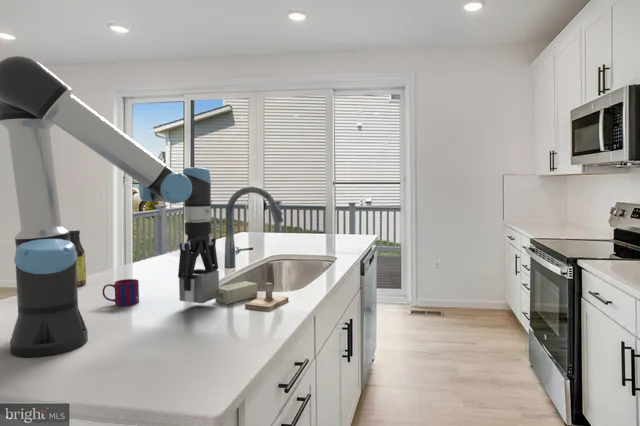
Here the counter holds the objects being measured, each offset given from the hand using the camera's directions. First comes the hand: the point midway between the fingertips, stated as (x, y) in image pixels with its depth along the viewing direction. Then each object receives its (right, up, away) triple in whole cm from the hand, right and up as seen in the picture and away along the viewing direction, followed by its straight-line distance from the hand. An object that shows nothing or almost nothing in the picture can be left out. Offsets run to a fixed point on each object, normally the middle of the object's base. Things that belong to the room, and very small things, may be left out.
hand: (199, 297), depth 135 cm
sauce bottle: (-52, -1, +30) cm, 60 cm away
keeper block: (+20, -2, +3) cm, 20 cm away
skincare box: (+5, 0, +5) cm, 7 cm away
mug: (-25, -3, +4) cm, 25 cm away
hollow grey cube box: (0, 0, 0) cm, 0 cm away
